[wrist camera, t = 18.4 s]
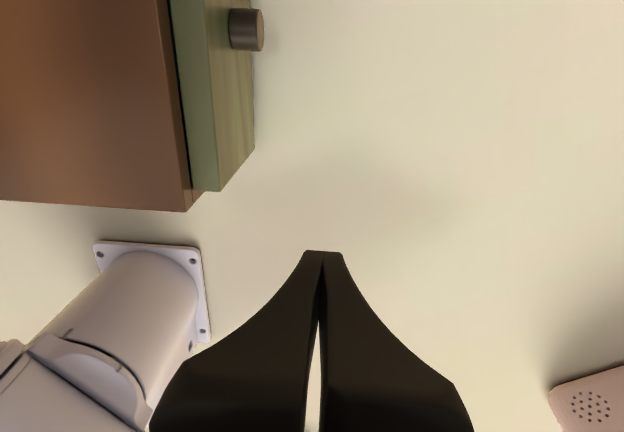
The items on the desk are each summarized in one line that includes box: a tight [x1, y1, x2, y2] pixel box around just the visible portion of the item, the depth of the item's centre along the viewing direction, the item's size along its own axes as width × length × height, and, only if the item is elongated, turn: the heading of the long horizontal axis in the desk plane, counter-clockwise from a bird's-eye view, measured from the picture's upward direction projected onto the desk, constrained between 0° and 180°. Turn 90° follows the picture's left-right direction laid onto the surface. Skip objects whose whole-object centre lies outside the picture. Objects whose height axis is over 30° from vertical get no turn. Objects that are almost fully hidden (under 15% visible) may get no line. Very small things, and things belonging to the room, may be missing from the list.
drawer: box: [169, 0, 264, 192], centre depth 15 cm, size 15×12×7 cm
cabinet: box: [0, 0, 205, 212], centre depth 15 cm, size 15×14×9 cm
